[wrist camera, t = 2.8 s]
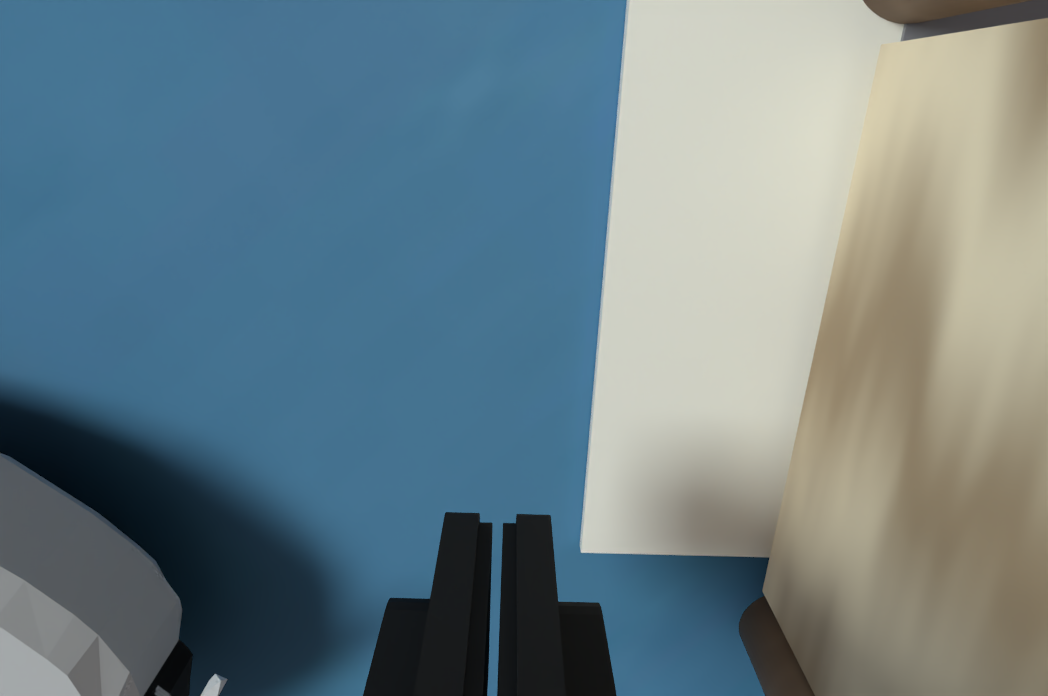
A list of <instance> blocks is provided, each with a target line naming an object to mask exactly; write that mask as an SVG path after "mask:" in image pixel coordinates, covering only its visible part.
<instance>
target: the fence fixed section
mask: <svg viewBox="0 0 1048 696" xmlns="http://www.w3.org/2000/svg"><path fill="white" fill-rule="evenodd" d="M863 1H864V3H865V4H866V5H867V7H868V8H869V9H870V10H872V11H873V12H874V13H875V14H876V15H878V16H879V17H881V18H883V19H885V20H887V21H891V22H894V23H900V24H908V23H920V22H926V21H931V20H936V19H941V18H946V17H951V16H956V15H961V14H966V13H971V12H976V11H981V10H986V9H991V8H996V7H1001V6H1006V5H1011V4H1016V3H1021V2H1026V1H1031V0H863Z"/></svg>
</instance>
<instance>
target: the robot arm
mask: <svg viewBox="0 0 1048 696" xmlns="http://www.w3.org/2000/svg"><path fill="white" fill-rule="evenodd" d="M491 557H492V523H480V514H479V513H452V512H446V513H445V517H444V522H443V528H442V534H441V540H440V545H439V551H438V557H437V563H436V568H435V574H434V580H433V586H432V592H431V597H430V599H412V598H390V599H389V601H388V603H387V606H386V609H385V613H384V617H383V621H382V624H381V628H380V632H379V636H378V640H377V644H376V648H375V651H374V655H373V659H372V663H371V667H370V671H369V675H368V678H367V682H366V686H365V690H364V694H363V696H487V687H488V664H489V631H490V594H491ZM497 696H616V690H615V684H614V678H613V673H612V667H611V661H610V655H609V649H608V643H607V638H606V632H605V626H604V620H603V614H602V610H601V606H600V604H599V603H587V602H558V596H557V584H556V572H555V561H554V549H553V537H552V526H551V516H550V515H528V514H517V517H516V523H503V544H502V573H501V602H500V632H499V662H498V694H497Z"/></svg>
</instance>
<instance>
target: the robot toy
mask: <svg viewBox="0 0 1048 696" xmlns="http://www.w3.org/2000/svg"><path fill="white" fill-rule="evenodd" d="M181 616H182V607H181V602H180V598H179V597H178V596H177V594H176V593H175V592H174V590H173V589H172V588H171V586H170V585H169V584H168V582H167V581H166V579H165V577H164V575H163V573H162V572H161V570H160V568H159V566H158V564H157V562H156V561H155V560H154V559H153V558H152V557H151V556H150V555H149V554H148V553H146V552H145V551H144V550H143V549H142V548H141V547H140V546H139V545H138V544H136V543H135V542H134V541H133V540H131V539H130V538H129V537H128V536H126V535H125V534H124V533H123V532H122V531H120V530H119V529H118V528H117V527H115V526H114V525H113V524H112V523H110V522H109V521H108V520H107V519H105V518H104V517H103V516H102V515H101V514H99V513H98V512H96V511H95V510H93V509H92V508H90V507H88V506H87V505H85V504H84V503H82V502H81V501H79V500H77V499H76V498H74V497H73V496H71V495H70V494H68V493H66V492H65V491H63V490H62V489H60V488H59V487H57V486H55V485H54V484H52V483H51V482H49V481H48V480H46V479H44V478H43V477H41V476H40V475H38V474H37V473H35V472H33V471H32V470H30V469H29V468H27V467H26V466H24V465H22V464H21V463H19V462H18V461H16V460H15V459H13V458H11V457H10V456H7V455H5V454H2V453H0V696H189V689H190V675H191V666H192V657H193V654H192V653H191V651H190V650H189V648H188V647H187V646H186V645H185V644H184V643H183V642H182V641H181V640H180V639H179V632H180V624H181ZM227 680H228V679H226V678H224V677H222V676H219V675H217V674H214V676H213V677H212V678H211V679H210V680H209V682H208V683H207V685H206V687H205V689H204V690H203V692H202V693H201V694H200V696H219V694H220V692H221V691H222V689H223V687H224V685H225V683H226V681H227Z"/></svg>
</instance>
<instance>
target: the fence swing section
mask: <svg viewBox="0 0 1048 696" xmlns="http://www.w3.org/2000/svg"><path fill="white" fill-rule="evenodd" d="M762 591H763V593H764V595H765V596H763V597H761V598H759V599H758V600H756V601H755V602H753V603H752V604H751V605H750V606H749V607H748V608H747V609H746V610H745V611H744V613H743V614H742V617H741V619H740V622H739V633H740V636H741V639H742V641H743V644H744V646H745V648H746V651H747V653H748V655H749V658H750V660H751V663H752V665H753V667H754V670H755V672H756V674H757V677H758V679H759V682H760V684H761V686H762V689H763V691H764V693H765V696H1048V18H1044V19H1038V20H1032V21H1025V22H1019V23H1013V24H1007V25H1000V26H994V27H988V28H982V29H975V30H969V31H963V32H957V33H950V34H944V35H938V36H932V37H925V38H919V39H913V40H907V41H900V42H894V43H888V44H882V45H881V47H880V51H879V56H878V61H877V65H876V70H875V74H874V79H873V84H872V88H871V93H870V97H869V102H868V107H867V111H866V116H865V121H864V125H863V130H862V134H861V139H860V144H859V148H858V153H857V157H856V162H855V167H854V171H853V176H852V180H851V185H850V190H849V194H848V199H847V203H846V208H845V213H844V217H843V222H842V226H841V231H840V236H839V240H838V245H837V249H836V254H835V259H834V263H833V268H832V272H831V277H830V282H829V286H828V291H827V295H826V300H825V305H824V309H823V314H822V318H821V323H820V328H819V332H818V337H817V341H816V346H815V351H814V355H813V360H812V365H811V369H810V374H809V378H808V383H807V388H806V392H805V397H804V401H803V406H802V411H801V415H800V420H799V424H798V429H797V434H796V438H795V443H794V447H793V452H792V457H791V461H790V466H789V470H788V475H787V480H786V484H785V489H784V493H783V498H782V503H781V507H780V512H779V516H778V521H777V526H776V530H775V535H774V539H773V544H772V549H771V553H770V558H769V562H768V567H767V572H766V576H765V581H764V585H763V590H762Z"/></svg>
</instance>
